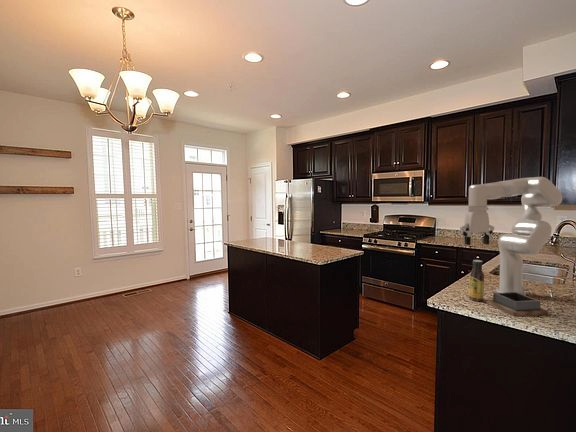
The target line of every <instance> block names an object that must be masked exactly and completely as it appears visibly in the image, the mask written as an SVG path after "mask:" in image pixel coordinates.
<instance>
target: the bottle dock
mask: <svg viewBox="0 0 576 432" xmlns="http://www.w3.org/2000/svg"><path fill="white" fill-rule="evenodd" d="M492 296H493V298H492V300H491V299H490V300H488V299H487V300H486V305H489V306H491V307H493V308H495V309H498V310H500V311H502V312H504V313H506V314H508V315H510V316H512V317H520V316H521V317H522V316H523V317H524V316H538V315H539V316H540V315H548V314H549V310H547V309H544V308H543V307H542V308H541V300H539V299H536V298H534V297H530V296H528V295H526V296H525V295H523V294H520V293H517V292H503V293H497V292H493V293H492Z"/></svg>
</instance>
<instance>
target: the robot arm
mask: <svg viewBox="0 0 576 432" xmlns="http://www.w3.org/2000/svg"><path fill="white" fill-rule="evenodd" d="M515 196H521V199H520V201H521V208H522V213H521V215H520V216H518V218H517V220H516V221H515V223H514V224H513V225H512V226H511V227H512V228H511V233H503V234H502V235H500V236H499V237H498V239H497V245H498V250H499V285H498V286H499V287H497V288H496V289H495V293H503V292H517V293H520V294H523V295H525V296H527V293H526V292H525V291H530V290H531V289H532V288H531V286H524V285H523V281H524V280H523V279H524V278H523V277H524V276H523V275H524V274H523V272H524V271H523V269H524V260H523V258H522V256H521V254H522V255H526V256H535V255H537V254H538V253H540V251H541V250H542V248H543V247H544V246H545V244H546V243H547V241H548V240H549V239H550V237H551V235H552V231H553V229H552V226H551V224H550V223H549V222H548V221H545V220H542V219H543V215H542V213H541V211H540V210H539V209H538V207H542V208H543V207H545V208H548V207H550V208H553V207H558V206H559V205H561V204H562V201H563V195H562V193H561V191H560V190H559V189H558V188H557V187H556V186H555V184H553V182H552V181H551V180H550V179H548V178H547V177H544V176H534V177H531V176H530V177H521V178H514V179H508V180H502V181H500V180H499V181H496V182H489V183H488V182H487V183H483V184H482V183H480V184H471V185H469V187H468V210H467V211H468V212H466V214H465V219H464V225H462V226H460V227H459V231H460V233H461V234H462V236H463V237H464V245H466V246H470V245H471V242H472V241H471V235H472V234H483V235H482V236H483V237H482V243H483V244H484V245H490V237H491V235H492V234H493V233H494V230H495V226H494V225H491V224H490V218H489V213H488V210H489V207H488V200H497V199H498V200H499V199H500V198H509V197H510V198H511V197H515Z"/></svg>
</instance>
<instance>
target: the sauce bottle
mask: <svg viewBox="0 0 576 432" xmlns="http://www.w3.org/2000/svg"><path fill="white" fill-rule="evenodd" d="M482 267H483V260H480V259H473V260H472V269H471V271H470V273H469V278H468V299H469V300H471V301H475V302H482V301H483V300H484V292H485V291H484V289H485V273H484V272H483V269H482Z"/></svg>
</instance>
